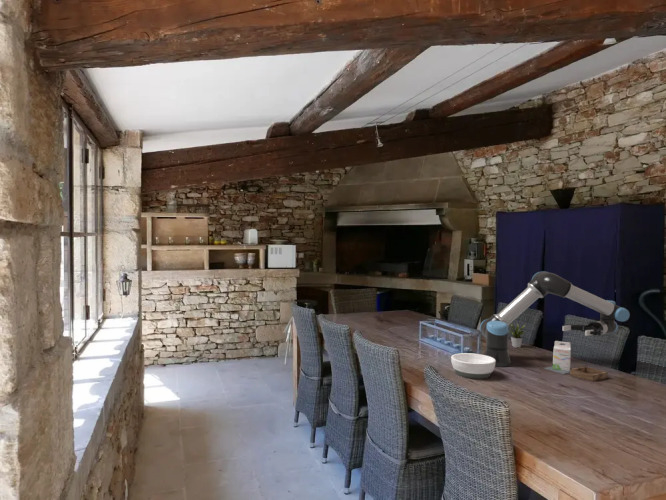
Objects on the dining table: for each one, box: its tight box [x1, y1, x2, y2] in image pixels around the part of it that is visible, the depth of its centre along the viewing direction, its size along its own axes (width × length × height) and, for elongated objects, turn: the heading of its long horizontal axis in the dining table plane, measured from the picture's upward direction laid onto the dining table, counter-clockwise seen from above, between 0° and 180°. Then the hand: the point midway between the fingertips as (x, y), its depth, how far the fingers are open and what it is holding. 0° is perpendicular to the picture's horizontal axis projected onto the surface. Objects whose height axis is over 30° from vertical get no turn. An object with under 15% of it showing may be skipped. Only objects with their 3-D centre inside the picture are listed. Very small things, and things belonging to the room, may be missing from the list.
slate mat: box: [543, 365, 570, 375], centre depth 267 cm, size 12×12×1 cm
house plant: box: [508, 322, 526, 348], centre depth 323 cm, size 14×14×16 cm
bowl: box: [450, 352, 496, 380], centre depth 257 cm, size 22×22×8 cm
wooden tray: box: [569, 366, 608, 382], centre depth 255 cm, size 12×12×3 cm
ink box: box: [552, 340, 572, 371], centre depth 267 cm, size 9×5×15 cm, turn 62°
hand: (574, 330), depth 271 cm, fingers open, 13 cm apart
